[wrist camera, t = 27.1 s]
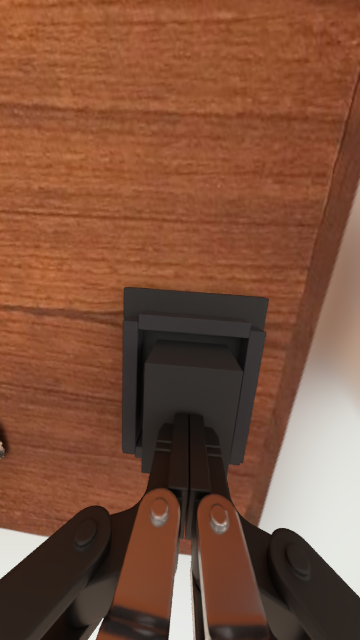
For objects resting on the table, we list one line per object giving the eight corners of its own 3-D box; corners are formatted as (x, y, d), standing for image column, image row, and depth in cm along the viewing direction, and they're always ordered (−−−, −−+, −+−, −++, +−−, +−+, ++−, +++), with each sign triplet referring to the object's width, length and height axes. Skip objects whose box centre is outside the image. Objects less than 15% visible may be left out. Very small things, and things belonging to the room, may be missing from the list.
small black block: (157, 338, 13) (144, 363, 9) (226, 344, 13) (243, 371, 9) (154, 421, 14) (141, 473, 10) (216, 427, 14) (226, 482, 10)
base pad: (129, 287, 13) (114, 287, 11) (262, 296, 13) (280, 300, 11) (127, 441, 16) (115, 471, 14) (236, 452, 16) (245, 485, 13)
